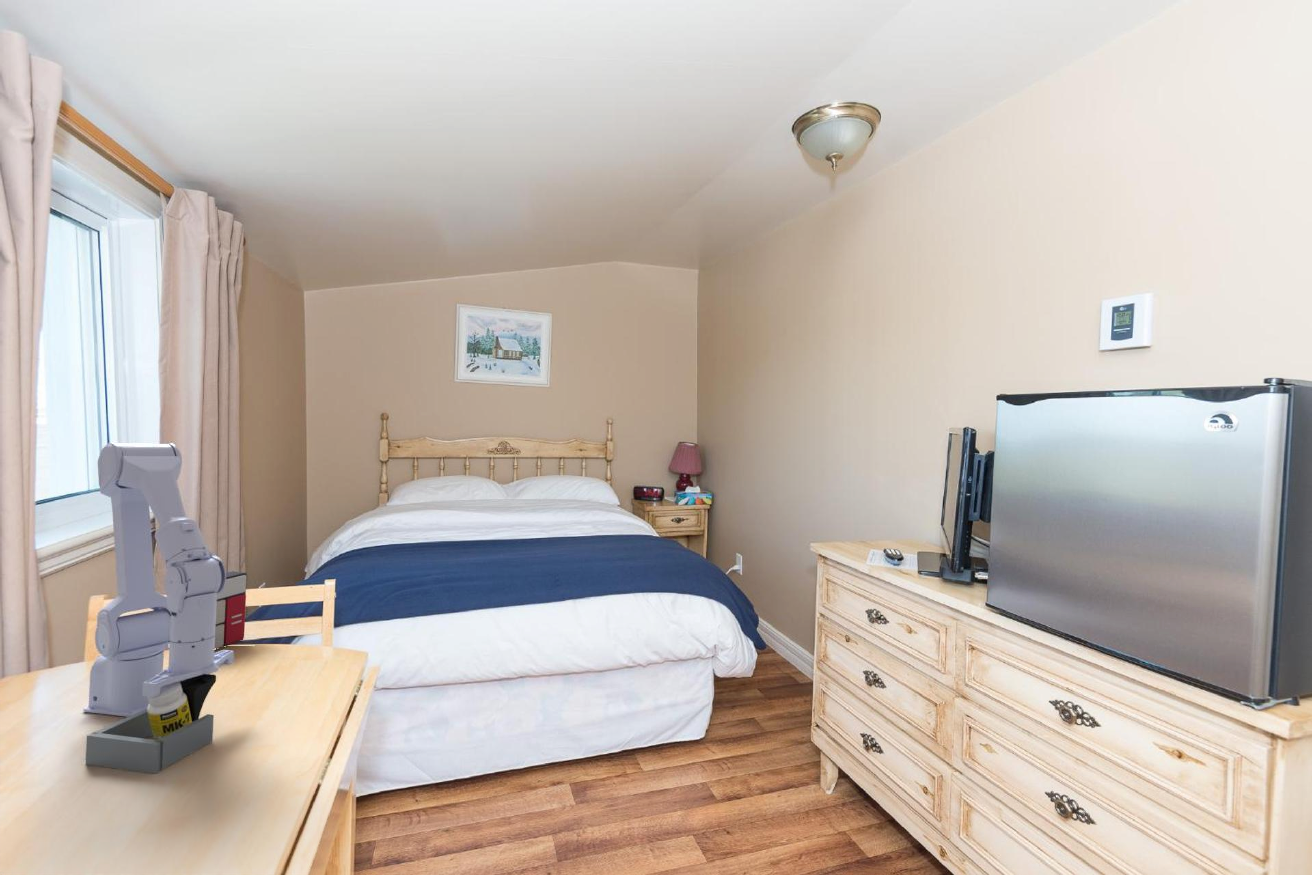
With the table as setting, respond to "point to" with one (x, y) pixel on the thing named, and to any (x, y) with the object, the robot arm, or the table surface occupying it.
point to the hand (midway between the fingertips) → (188, 724)
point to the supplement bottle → (168, 711)
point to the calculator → (231, 610)
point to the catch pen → (145, 744)
